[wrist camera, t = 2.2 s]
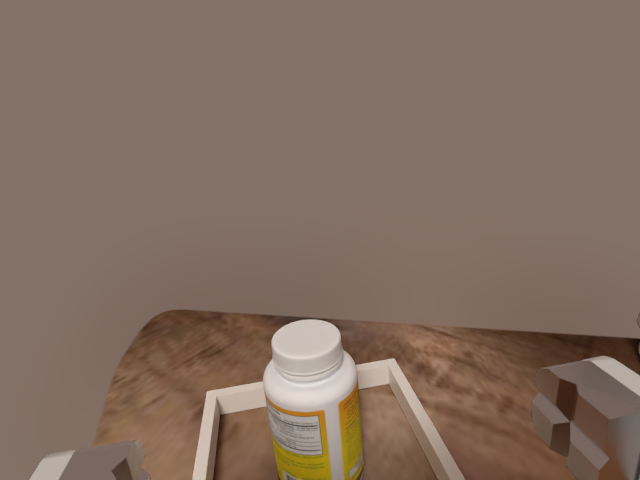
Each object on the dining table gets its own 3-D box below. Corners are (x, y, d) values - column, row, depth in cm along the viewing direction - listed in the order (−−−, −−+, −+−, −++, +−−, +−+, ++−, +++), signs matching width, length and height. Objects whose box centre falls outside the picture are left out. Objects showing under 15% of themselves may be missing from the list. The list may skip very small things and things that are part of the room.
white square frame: (394, 376, 33) (394, 358, 33) (505, 577, 19) (508, 552, 18) (210, 409, 31) (207, 391, 31) (173, 665, 17) (165, 639, 16)
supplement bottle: (344, 428, 28) (334, 304, 25) (379, 494, 23) (372, 349, 20) (270, 453, 27) (249, 324, 24) (290, 530, 22) (267, 379, 19)
